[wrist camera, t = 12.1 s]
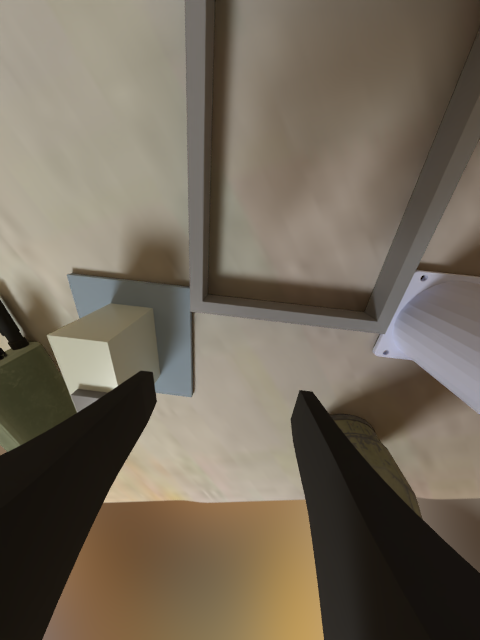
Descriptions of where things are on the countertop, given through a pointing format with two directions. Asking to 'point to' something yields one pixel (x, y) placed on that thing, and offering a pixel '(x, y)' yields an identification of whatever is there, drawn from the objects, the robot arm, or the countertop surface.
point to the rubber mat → (168, 320)
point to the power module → (105, 350)
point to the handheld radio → (28, 388)
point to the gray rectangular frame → (414, 230)
